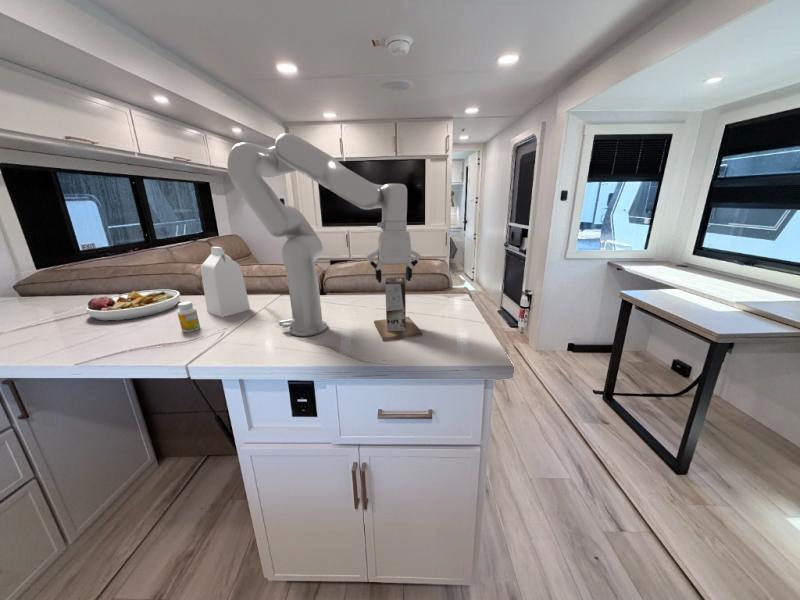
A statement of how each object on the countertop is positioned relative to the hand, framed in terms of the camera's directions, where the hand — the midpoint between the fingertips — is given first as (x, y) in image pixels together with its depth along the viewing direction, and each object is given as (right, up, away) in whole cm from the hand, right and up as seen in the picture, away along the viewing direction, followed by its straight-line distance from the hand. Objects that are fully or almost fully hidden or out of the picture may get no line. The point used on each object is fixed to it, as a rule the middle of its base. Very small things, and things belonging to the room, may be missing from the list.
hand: (393, 280), depth 99 cm
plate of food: (-108, -11, +30) cm, 113 cm away
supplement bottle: (-72, -17, +9) cm, 74 cm away
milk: (-69, -11, +27) cm, 75 cm away
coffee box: (+1, -15, +5) cm, 16 cm away
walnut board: (+1, -16, +5) cm, 17 cm away
